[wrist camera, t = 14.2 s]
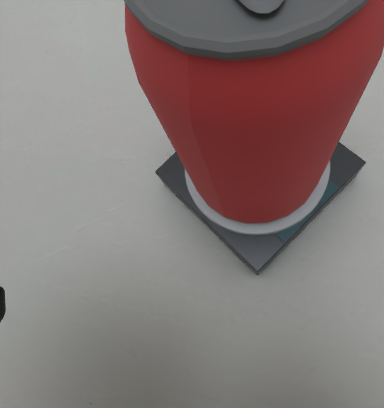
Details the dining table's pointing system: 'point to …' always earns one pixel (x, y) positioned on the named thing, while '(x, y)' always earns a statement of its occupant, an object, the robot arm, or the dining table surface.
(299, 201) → the beer can
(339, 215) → the dining table surface
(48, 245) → the dining table surface
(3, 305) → the robot arm
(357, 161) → the scale
